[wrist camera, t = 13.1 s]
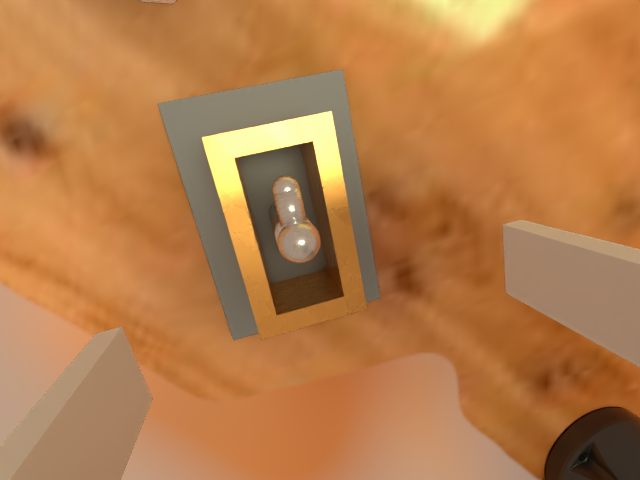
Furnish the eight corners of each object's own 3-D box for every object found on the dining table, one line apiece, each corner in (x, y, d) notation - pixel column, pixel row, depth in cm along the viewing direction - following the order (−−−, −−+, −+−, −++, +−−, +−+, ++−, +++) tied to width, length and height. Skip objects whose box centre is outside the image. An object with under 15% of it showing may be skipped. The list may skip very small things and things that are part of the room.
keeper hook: (302, 224, 29) (328, 263, 19) (273, 232, 28) (285, 274, 19) (288, 165, 27) (309, 173, 17) (257, 172, 27) (262, 184, 17)
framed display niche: (345, 279, 31) (367, 308, 25) (258, 303, 30) (260, 339, 24) (314, 119, 27) (331, 111, 21) (212, 140, 26) (201, 137, 20)
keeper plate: (376, 294, 33) (380, 298, 32) (233, 334, 31) (233, 340, 30) (339, 71, 27) (342, 69, 26) (161, 105, 25) (157, 103, 24)
